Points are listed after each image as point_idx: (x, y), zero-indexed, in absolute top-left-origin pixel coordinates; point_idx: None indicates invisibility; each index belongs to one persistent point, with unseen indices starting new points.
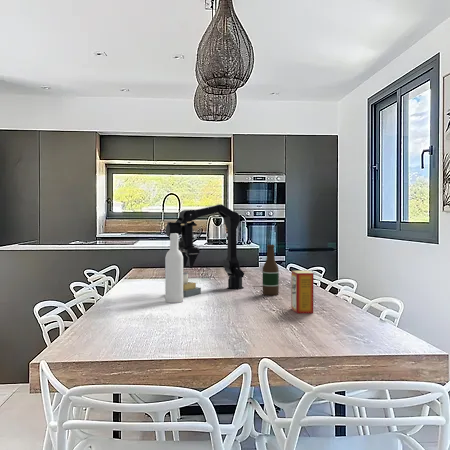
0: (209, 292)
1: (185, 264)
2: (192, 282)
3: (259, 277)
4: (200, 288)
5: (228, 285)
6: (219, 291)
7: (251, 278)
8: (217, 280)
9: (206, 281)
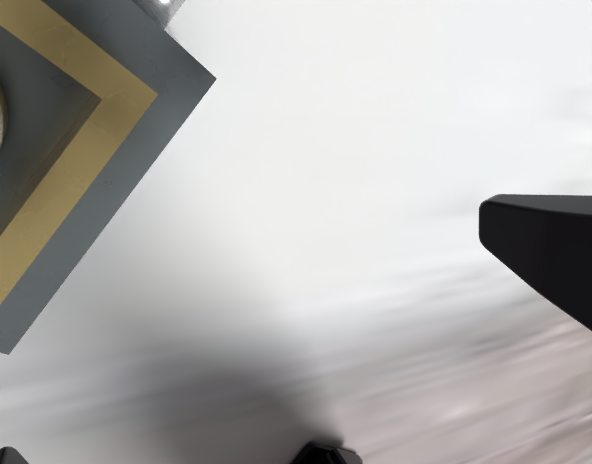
0: (132, 368)
1: (510, 251)
2: (3, 285)
3: (565, 461)
4: (1, 346)
5: (336, 458)
6: (188, 428)
7: (560, 442)
8: None
9: None
